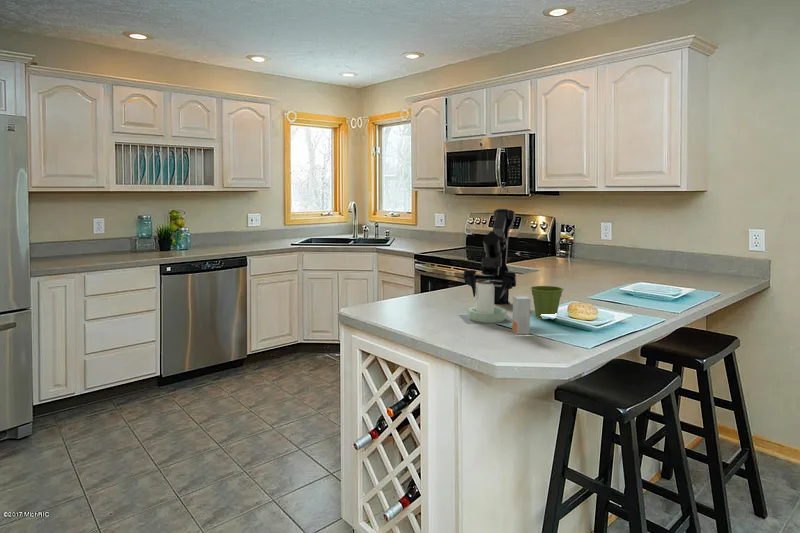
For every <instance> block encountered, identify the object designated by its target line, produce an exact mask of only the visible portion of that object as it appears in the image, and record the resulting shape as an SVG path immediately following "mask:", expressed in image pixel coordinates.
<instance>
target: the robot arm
mask: <svg viewBox="0 0 800 533" xmlns="http://www.w3.org/2000/svg"><path fill="white" fill-rule="evenodd" d="M493 221H494V223H493V227H492V230H491V231H489V232H488V233H487V234H485V236H483V239H482V243H483V247H484V248H483V249H484V253H485V257H482V259H481V272H482V273H476V269H465V270H463V280H464V283H465V284H466V285H468V286H469V287H470V288H471V290H472V295H473V296H472V297H473V298H476V287H477V280H480V281H488V282H493V285H494V288H495V291H494V305H495V304H496V305H498V304H500V305H501V304H503V305H504V304H510V303H511V302H510V301H509V295H510V294H509V293H510V289H512V290H513V288H514V287H516V286H517V273H516V272H515V271H510V270H509V267H508V265H507V261H508V247H509V234H510V231H511V229H512V228H513V226H514V222H515V221H516V212H515V211H514V210H512V209H508V208H497V209H495V210H494V211H493Z"/></svg>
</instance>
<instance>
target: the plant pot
mask: <svg viewBox="0 0 800 533" xmlns="http://www.w3.org/2000/svg"><path fill="white" fill-rule="evenodd" d="M529 288H530V290H531V294H532V300H533V304H534V305H533V306H534V314H535V318H536V317H538V318H541V319H540V320H543V319H542V317H541V316H540V315H541V314H555V313H557V314H558V312H559V311H558V310H559V306H560V300H561V297H562V293H563V292H564V290H565V289H564V288H563V287H560V286H551V285H534V286H531V287H529ZM538 318H537V319H538Z"/></svg>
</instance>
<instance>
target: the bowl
mask: <svg viewBox="0 0 800 533" xmlns="http://www.w3.org/2000/svg"><path fill="white" fill-rule="evenodd" d="M467 315H468V316H469V319H470V320H472V321H475V322H481V323H490V324H500V323H499V322H503V321H505V320H506V315H507V310H506V309H505V308H502V307H498V306H494V313H479V312H476V306H471V307H469V308H468V309H467Z"/></svg>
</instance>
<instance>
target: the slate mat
mask: <svg viewBox="0 0 800 533" xmlns="http://www.w3.org/2000/svg"><path fill="white" fill-rule="evenodd" d="M458 317H460V319H462V321H463V322H465V323H466V325H477V324H478V325H482V324H484V325H486V324H487V325H488V324H489V325H490V324H491V323H481V322H475V321H472V320H470V319H469V316H468V314H458ZM512 318H513V317H510V316H509V315H507V314H506V320H505V321H503V322H499V323H498V324H512Z"/></svg>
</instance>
